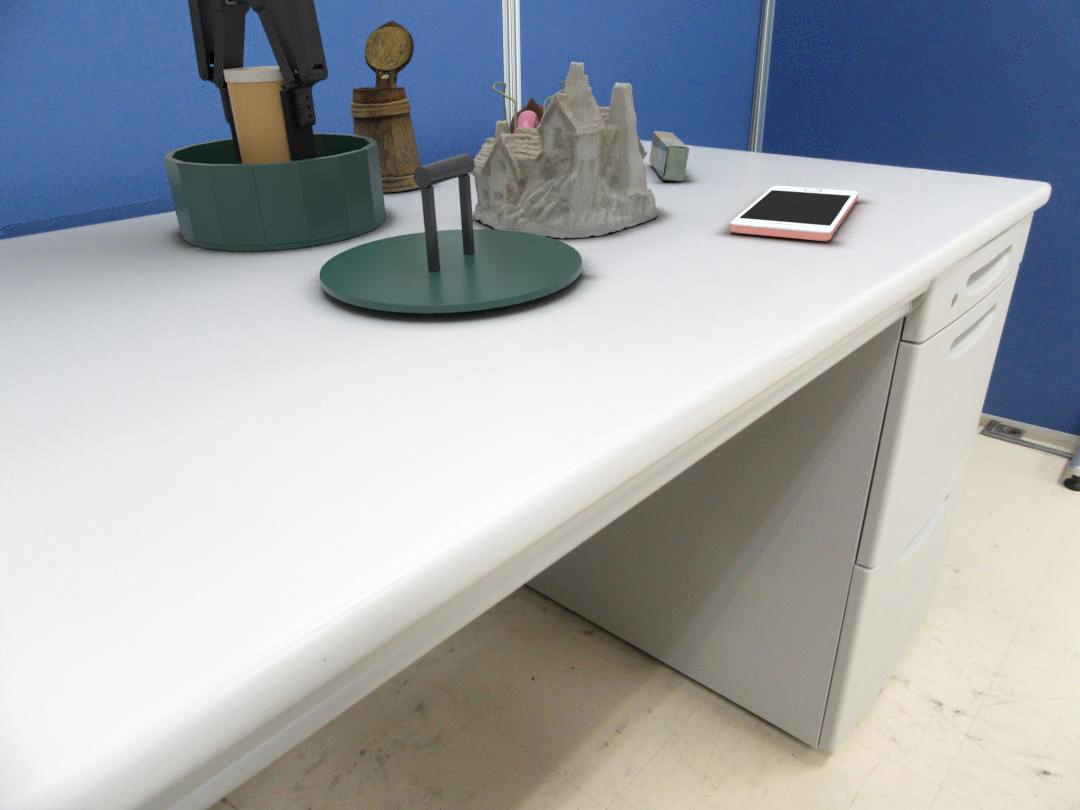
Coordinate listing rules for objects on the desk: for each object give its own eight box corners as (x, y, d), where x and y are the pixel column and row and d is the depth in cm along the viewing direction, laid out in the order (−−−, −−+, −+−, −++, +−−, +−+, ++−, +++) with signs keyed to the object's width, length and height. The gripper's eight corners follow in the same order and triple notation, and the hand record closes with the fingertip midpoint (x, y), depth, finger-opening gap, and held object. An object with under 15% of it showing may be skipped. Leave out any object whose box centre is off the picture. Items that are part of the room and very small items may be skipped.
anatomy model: (478, 159, 92) (486, 50, 96) (494, 217, 105) (500, 119, 109) (566, 158, 91) (569, 48, 95) (571, 216, 104) (574, 118, 108)
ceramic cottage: (680, 213, 78) (677, 48, 72) (555, 252, 69) (538, 67, 63) (576, 200, 89) (565, 56, 83) (456, 232, 80) (434, 73, 74)
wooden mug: (441, 171, 103) (428, 19, 95) (417, 193, 91) (401, 20, 83) (374, 172, 104) (357, 21, 96) (342, 193, 92) (319, 23, 84)
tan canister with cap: (229, 183, 76) (207, 70, 71) (279, 171, 81) (260, 65, 77) (281, 187, 73) (261, 71, 69) (328, 174, 78) (312, 65, 74)
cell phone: (858, 199, 82) (859, 190, 82) (829, 242, 68) (830, 231, 67) (772, 193, 86) (773, 184, 85) (728, 232, 72) (728, 222, 71)
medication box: (685, 182, 93) (690, 147, 91) (662, 181, 93) (667, 146, 91) (668, 162, 104) (672, 130, 102) (648, 161, 104) (652, 129, 102)
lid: (263, 298, 59) (240, 175, 55) (421, 233, 75) (412, 134, 71) (501, 340, 50) (494, 198, 46) (621, 256, 66) (624, 145, 62)
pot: (139, 238, 76) (118, 158, 72) (283, 198, 91) (271, 129, 88) (291, 260, 67) (276, 171, 64) (422, 212, 83) (415, 137, 79)
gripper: (347, -130, 65) (380, 159, 75) (183, -108, 73) (234, 150, 83) (282, -142, 59) (328, 173, 69) (112, -117, 67) (175, 162, 78)
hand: (276, 160), depth 76 cm, fingers closed on tan canister with cap, 6 cm apart
